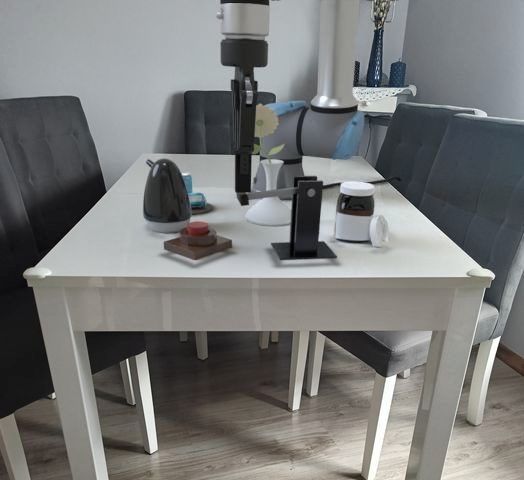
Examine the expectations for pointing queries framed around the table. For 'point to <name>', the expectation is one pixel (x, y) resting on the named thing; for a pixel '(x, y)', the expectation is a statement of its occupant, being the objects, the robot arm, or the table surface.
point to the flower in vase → (268, 175)
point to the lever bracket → (305, 223)
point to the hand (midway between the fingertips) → (242, 191)
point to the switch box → (197, 244)
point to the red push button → (197, 228)
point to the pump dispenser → (166, 198)
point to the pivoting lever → (265, 194)
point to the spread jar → (359, 215)
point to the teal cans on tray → (196, 197)
